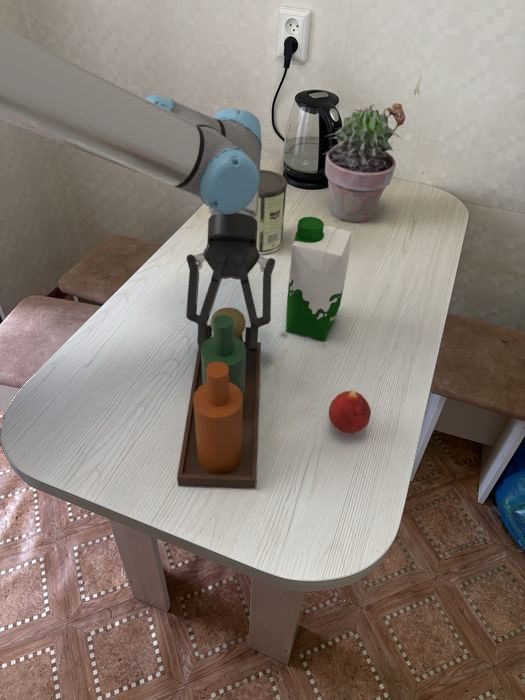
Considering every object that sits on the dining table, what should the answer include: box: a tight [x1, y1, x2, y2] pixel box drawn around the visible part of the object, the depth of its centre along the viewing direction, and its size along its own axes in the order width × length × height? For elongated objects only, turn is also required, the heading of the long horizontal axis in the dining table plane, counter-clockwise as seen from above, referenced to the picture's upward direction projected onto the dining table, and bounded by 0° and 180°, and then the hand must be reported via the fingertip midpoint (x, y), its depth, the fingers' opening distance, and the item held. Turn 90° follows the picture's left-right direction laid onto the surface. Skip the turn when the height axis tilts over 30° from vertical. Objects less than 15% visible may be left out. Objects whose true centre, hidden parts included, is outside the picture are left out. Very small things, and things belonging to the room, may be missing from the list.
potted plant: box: [315, 102, 406, 224], centre depth 113 cm, size 18×20×25 cm
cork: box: [210, 306, 246, 372], centre depth 78 cm, size 6×6×11 cm
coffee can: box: [255, 169, 288, 256], centre depth 105 cm, size 10×10×14 cm
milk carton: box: [285, 216, 352, 342], centre depth 84 cm, size 9×9×20 cm
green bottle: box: [201, 315, 246, 412], centre depth 69 cm, size 6×6×17 cm
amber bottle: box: [193, 362, 243, 474], centre depth 63 cm, size 6×6×17 cm
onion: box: [328, 389, 372, 435], centre depth 71 cm, size 6×6×8 cm
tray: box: [176, 341, 262, 490], centre depth 75 cm, size 10×26×2 cm, turn 179°
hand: (226, 369), depth 77 cm, fingers open, 5 cm apart
